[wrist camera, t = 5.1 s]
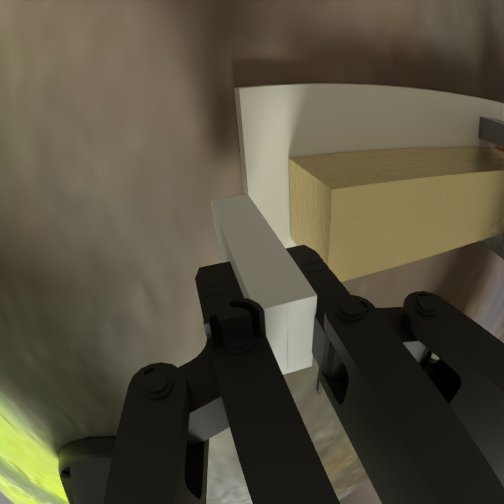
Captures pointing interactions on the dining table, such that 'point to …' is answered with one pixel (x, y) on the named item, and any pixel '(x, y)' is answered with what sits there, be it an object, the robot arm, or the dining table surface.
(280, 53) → the dining table surface
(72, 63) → the dining table surface
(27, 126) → the dining table surface
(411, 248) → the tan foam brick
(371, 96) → the slab
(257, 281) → the robot arm
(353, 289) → the dining table surface
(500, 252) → the collars
